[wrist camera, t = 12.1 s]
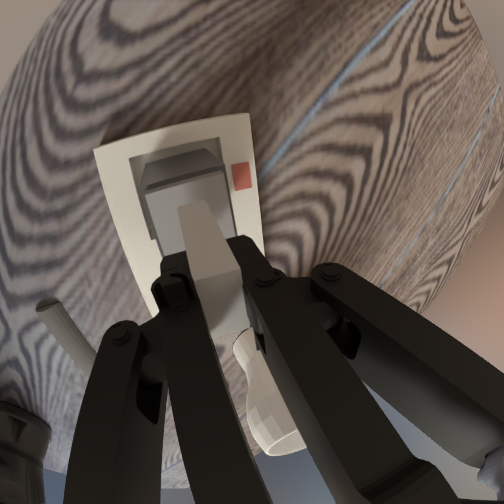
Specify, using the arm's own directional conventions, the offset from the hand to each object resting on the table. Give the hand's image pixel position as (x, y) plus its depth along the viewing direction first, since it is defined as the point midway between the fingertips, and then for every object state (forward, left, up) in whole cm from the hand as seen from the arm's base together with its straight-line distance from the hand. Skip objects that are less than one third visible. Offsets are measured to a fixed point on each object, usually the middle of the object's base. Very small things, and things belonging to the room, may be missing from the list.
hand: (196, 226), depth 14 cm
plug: (0, 0, -9) cm, 9 cm away
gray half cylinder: (-18, -18, -10) cm, 27 cm away
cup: (+5, -23, -10) cm, 26 cm away
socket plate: (0, -5, -10) cm, 11 cm away
